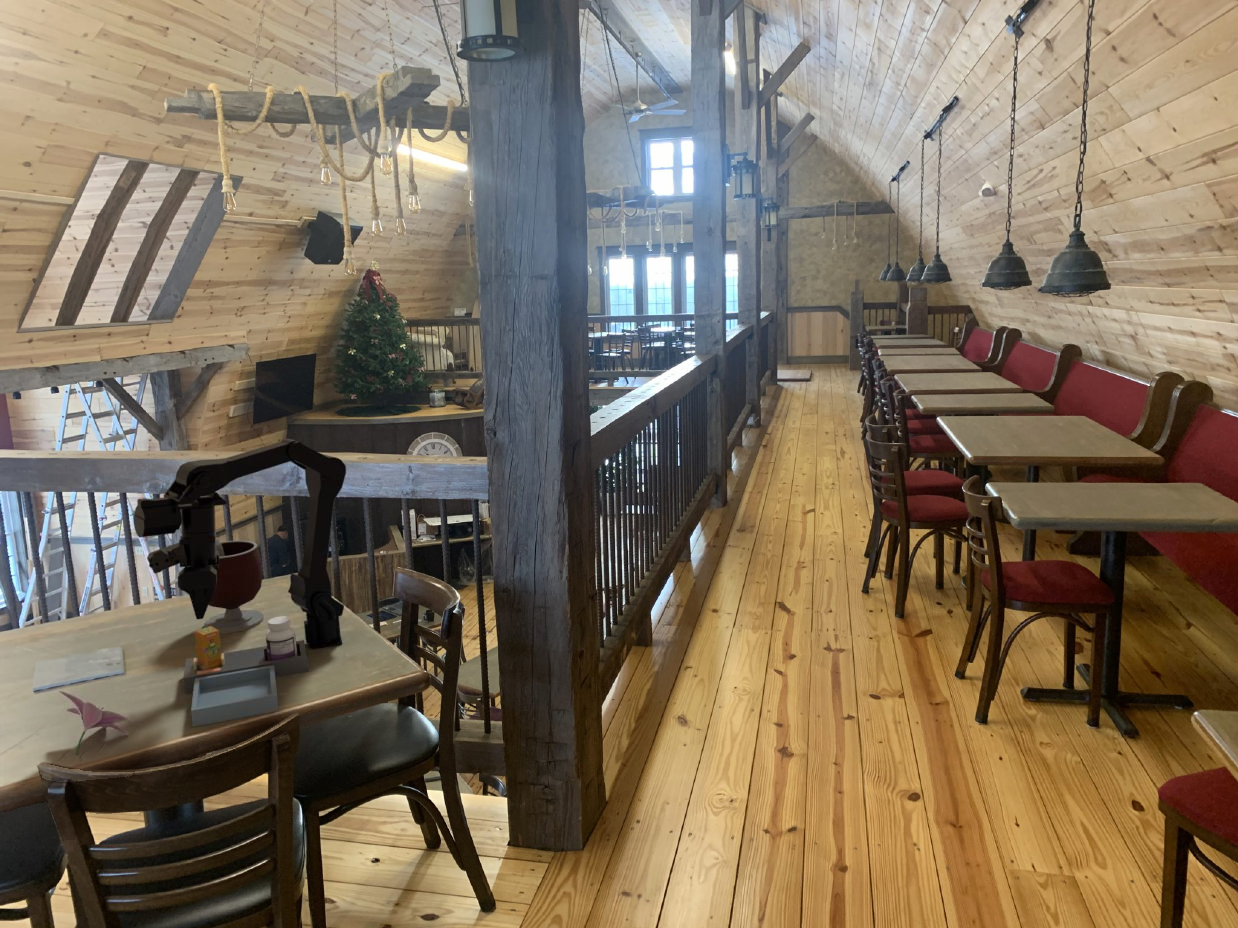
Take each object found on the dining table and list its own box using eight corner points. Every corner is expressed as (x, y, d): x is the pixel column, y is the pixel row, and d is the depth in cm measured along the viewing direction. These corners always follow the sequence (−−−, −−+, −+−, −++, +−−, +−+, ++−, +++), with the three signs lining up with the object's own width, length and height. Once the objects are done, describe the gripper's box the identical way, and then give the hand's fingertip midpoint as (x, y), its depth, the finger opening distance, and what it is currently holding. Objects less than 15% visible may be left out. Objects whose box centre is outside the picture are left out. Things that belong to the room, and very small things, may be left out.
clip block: (305, 653, 180) (303, 634, 179) (308, 671, 172) (306, 651, 171) (187, 673, 172) (185, 653, 171) (185, 693, 164) (182, 672, 163)
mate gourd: (279, 620, 198) (270, 534, 194) (218, 639, 188) (207, 549, 184) (245, 605, 208) (236, 522, 204) (185, 622, 198) (174, 536, 194)
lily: (135, 758, 144) (148, 696, 146) (52, 755, 136) (68, 690, 139) (114, 754, 152) (127, 696, 155) (35, 751, 145) (50, 690, 147)
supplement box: (207, 684, 167) (201, 634, 165) (199, 679, 169) (192, 630, 167) (225, 678, 169) (218, 629, 167) (216, 673, 172) (210, 625, 170)
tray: (275, 679, 168) (274, 664, 168) (278, 710, 156) (276, 694, 156) (196, 693, 163) (194, 678, 163) (193, 726, 151) (191, 710, 150)
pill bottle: (273, 661, 177) (268, 615, 175) (301, 660, 177) (296, 614, 175) (265, 673, 171) (260, 625, 169) (294, 671, 172) (289, 624, 170)
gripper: (154, 521, 170) (157, 600, 172) (144, 544, 153) (147, 631, 155) (218, 519, 174) (220, 596, 177) (215, 540, 157) (217, 625, 160)
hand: (201, 611), depth 167 cm, fingers open, 9 cm apart
